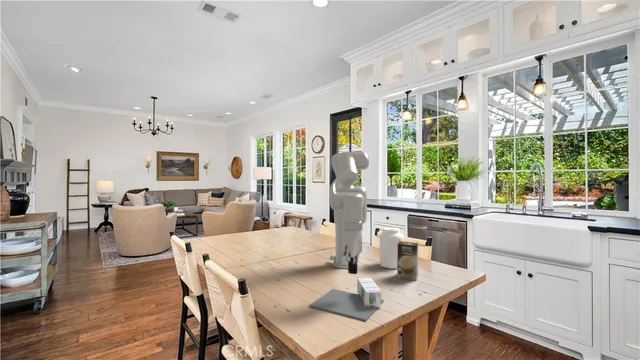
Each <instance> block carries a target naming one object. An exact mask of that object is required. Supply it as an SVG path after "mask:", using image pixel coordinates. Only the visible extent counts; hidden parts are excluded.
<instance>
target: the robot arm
mask: <svg viewBox="0 0 640 360" xmlns="http://www.w3.org/2000/svg"><path fill="white" fill-rule="evenodd" d="M331 166H332V171H333V172H334V174H335V179H334V180H333V182H332V183H331V185H330V187H329V205H330V208H331V210H333V218H334V227H335V255H332V254H331V255H329V260H330V261H333V262H332V266H333V267H335V268H338V269H347V272H348V274H350V275H357V274H358V262H359V256H360V254H361V253H362V252H363V233H362V231H363V224H366V222H367V219H368V218H367V217H368V216H367V215H368V211H367V209H368V208H367V207H368V204H367V203H368V201H367V200H368V199H367V197H368V196H367V190H366V188H365V187H364V186H363V185H354V183H356V182H357V181H358V179H359V174H358V171H365V170H367V169H368V168H369V166H370V158H369V155H368V153H367V152H365V151H344V152H341V153H335V154H333V155H332V156H331Z"/></svg>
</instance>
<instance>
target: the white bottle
mask: <svg viewBox="0 0 640 360" xmlns="http://www.w3.org/2000/svg"><path fill="white" fill-rule="evenodd" d="M399 241H402V242H405V237H404V234H403V233H401V230H400V228H399V227H389V226H387V227H384V228H383V230H382V232H381V233H380V234H379V265H380V267H383V268H385V269H389V270H390V269H392V270H393V269H396V270H397V254H398V243H399Z"/></svg>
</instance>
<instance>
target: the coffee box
mask: <svg viewBox="0 0 640 360" xmlns="http://www.w3.org/2000/svg"><path fill="white" fill-rule="evenodd" d="M396 278H398V279H399V278H400V279H404V280H409V281H410V280H412V281H417V280H418V278H419V242H411V241H404V242H402V241H399V243H398V254H397V269H396Z"/></svg>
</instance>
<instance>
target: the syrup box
mask: <svg viewBox="0 0 640 360" xmlns="http://www.w3.org/2000/svg"><path fill="white" fill-rule="evenodd" d="M356 286H357V294H359V296H360V297H361V299H362V301H363V303H364V305H365V306H366V307H378V308H381V307H382V304H381V299H382V291H381V289H380V288H379V286H378V285H377V284H376V283H375V281H374V280H373V279H372V278H371V277H365V278H364V277H361V278H360V277H358V278H357V285H356Z"/></svg>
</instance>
